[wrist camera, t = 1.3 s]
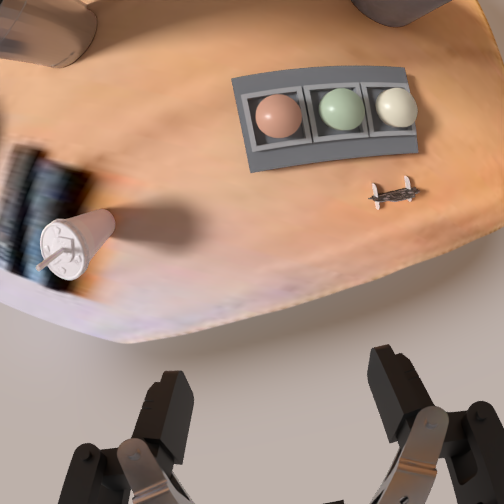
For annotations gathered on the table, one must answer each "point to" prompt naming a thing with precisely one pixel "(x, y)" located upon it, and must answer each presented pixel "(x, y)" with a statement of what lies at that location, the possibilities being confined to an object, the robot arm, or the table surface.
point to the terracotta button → (278, 116)
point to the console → (312, 126)
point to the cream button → (396, 107)
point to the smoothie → (74, 242)
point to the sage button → (341, 109)
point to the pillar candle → (397, 10)
